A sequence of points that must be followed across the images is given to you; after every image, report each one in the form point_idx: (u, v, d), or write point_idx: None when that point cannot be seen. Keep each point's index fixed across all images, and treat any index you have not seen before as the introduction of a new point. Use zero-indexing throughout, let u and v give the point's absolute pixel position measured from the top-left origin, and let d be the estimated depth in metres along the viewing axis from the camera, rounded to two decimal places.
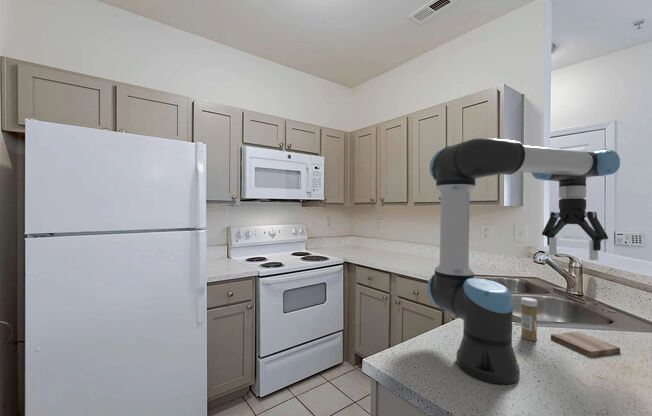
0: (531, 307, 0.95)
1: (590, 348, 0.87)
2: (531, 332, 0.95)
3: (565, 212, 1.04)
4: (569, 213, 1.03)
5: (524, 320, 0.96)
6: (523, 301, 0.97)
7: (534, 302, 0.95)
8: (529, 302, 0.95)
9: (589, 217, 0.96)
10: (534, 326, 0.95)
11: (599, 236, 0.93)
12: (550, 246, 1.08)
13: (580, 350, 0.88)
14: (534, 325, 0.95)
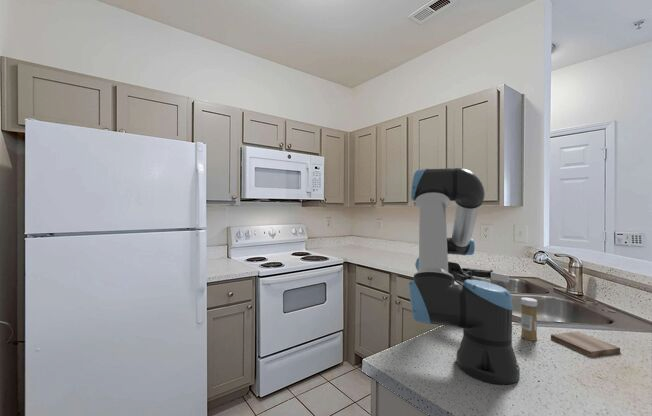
0: (531, 307, 0.95)
1: (590, 348, 0.87)
2: (531, 332, 0.95)
3: (457, 270, 1.18)
4: None
5: (524, 320, 0.96)
6: (523, 301, 0.97)
7: (534, 302, 0.95)
8: (529, 302, 0.95)
9: None
10: (534, 326, 0.95)
11: (490, 271, 1.17)
12: None
13: (580, 350, 0.88)
14: (534, 325, 0.95)
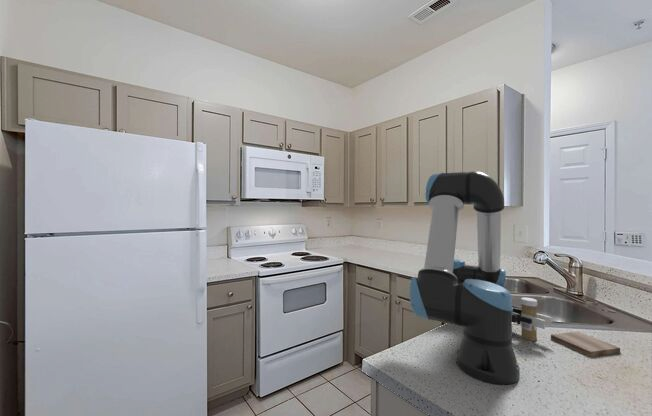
0: (531, 307, 0.95)
1: (590, 348, 0.87)
2: (531, 332, 0.95)
3: None
4: None
5: None
6: (523, 301, 0.97)
7: (534, 302, 0.95)
8: (529, 302, 0.95)
9: None
10: (534, 326, 0.95)
11: None
12: (533, 317, 0.94)
13: (580, 350, 0.88)
14: None
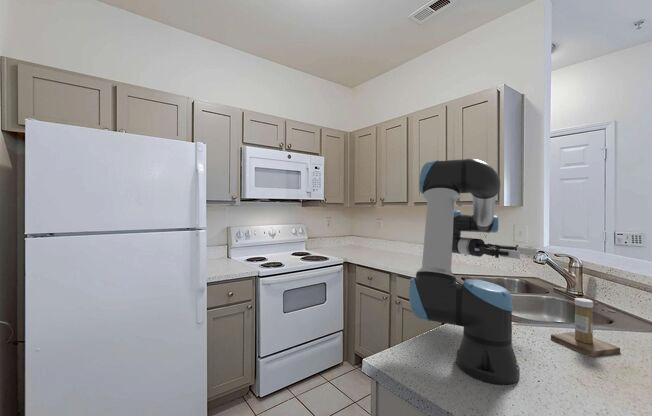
0: (587, 308, 0.90)
1: (590, 348, 0.87)
2: (587, 335, 0.90)
3: None
4: None
5: (580, 321, 0.92)
6: (578, 302, 0.92)
7: (590, 303, 0.90)
8: (585, 303, 0.91)
9: (496, 245, 1.20)
10: (590, 328, 0.90)
11: (515, 246, 1.16)
12: None
13: (580, 350, 0.88)
14: (590, 327, 0.90)
